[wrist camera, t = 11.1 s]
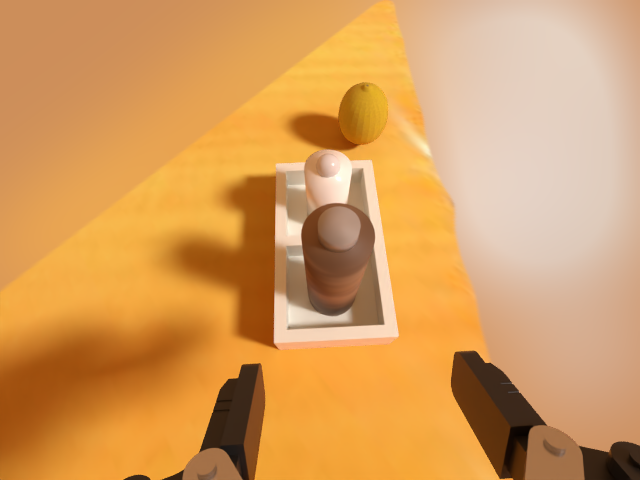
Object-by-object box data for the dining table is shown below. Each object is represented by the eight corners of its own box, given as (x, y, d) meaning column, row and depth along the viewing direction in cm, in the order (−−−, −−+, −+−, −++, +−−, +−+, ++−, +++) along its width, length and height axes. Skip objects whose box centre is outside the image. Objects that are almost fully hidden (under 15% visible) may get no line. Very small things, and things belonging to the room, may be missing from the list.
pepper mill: (298, 293, 30) (283, 225, 18) (330, 261, 31) (337, 179, 19) (332, 326, 28) (341, 277, 17) (365, 292, 30) (394, 223, 18)
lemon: (327, 138, 40) (329, 81, 33) (361, 118, 42) (369, 60, 34) (356, 165, 38) (365, 112, 31) (390, 143, 40) (406, 88, 32)
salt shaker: (299, 214, 33) (293, 160, 25) (324, 190, 35) (325, 131, 27) (328, 237, 32) (331, 187, 24) (353, 211, 34) (363, 155, 26)
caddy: (389, 344, 29) (398, 336, 26) (279, 349, 29) (273, 343, 25) (366, 182, 37) (371, 159, 33) (280, 186, 37) (276, 163, 33)
